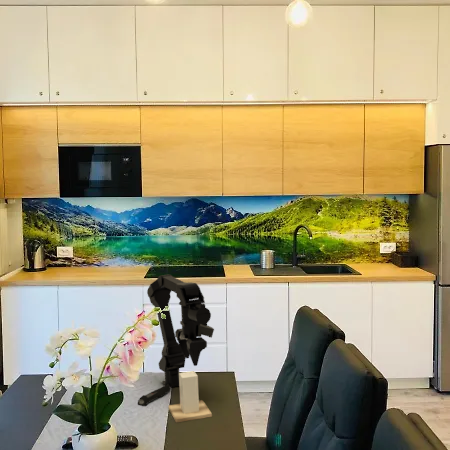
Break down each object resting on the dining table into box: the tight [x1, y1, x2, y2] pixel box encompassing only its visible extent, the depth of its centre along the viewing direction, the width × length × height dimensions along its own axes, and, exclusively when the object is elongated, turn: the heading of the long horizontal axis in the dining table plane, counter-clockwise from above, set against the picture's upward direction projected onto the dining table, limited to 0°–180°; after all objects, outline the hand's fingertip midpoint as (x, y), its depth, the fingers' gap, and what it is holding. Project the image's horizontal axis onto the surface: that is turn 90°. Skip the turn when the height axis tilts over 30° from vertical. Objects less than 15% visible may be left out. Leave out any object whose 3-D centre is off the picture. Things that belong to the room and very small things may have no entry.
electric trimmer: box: [137, 384, 171, 407], centre depth 196 cm, size 4×16×3 cm, turn 146°
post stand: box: [168, 399, 213, 423], centre depth 182 cm, size 12×12×4 cm
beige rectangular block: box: [179, 370, 200, 414], centre depth 182 cm, size 5×5×12 cm
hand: (191, 361), depth 194 cm, fingers open, 9 cm apart
